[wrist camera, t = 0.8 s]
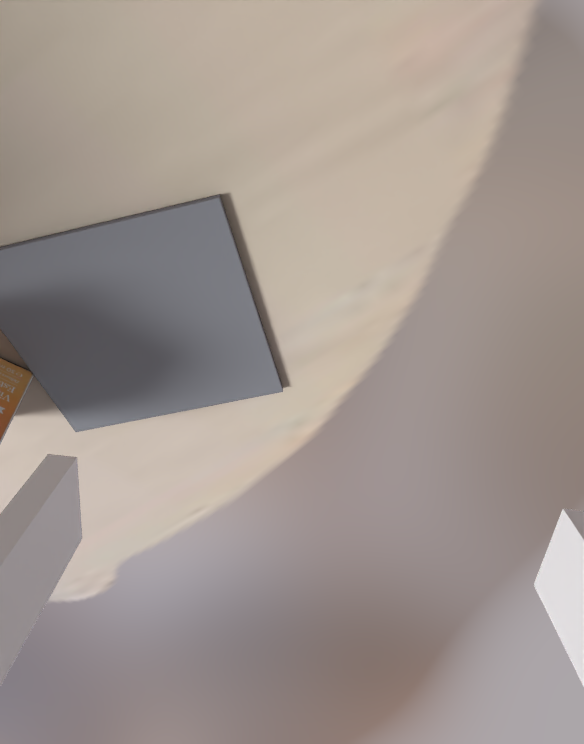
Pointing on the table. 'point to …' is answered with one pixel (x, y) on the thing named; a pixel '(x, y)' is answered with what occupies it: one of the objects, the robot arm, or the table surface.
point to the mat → (137, 316)
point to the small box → (11, 392)
